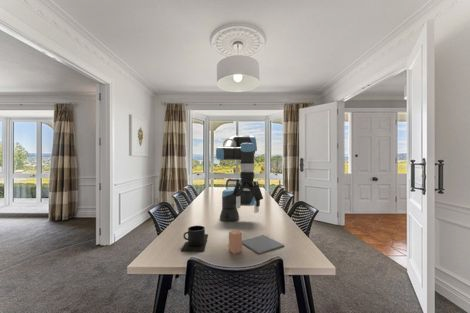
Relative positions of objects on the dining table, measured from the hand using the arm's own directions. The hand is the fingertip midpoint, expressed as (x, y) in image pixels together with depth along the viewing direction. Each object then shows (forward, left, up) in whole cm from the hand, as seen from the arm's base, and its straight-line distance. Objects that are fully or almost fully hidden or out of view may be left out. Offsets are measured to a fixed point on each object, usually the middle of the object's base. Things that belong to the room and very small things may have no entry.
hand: (247, 210), depth 123 cm
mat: (+1, +10, -21) cm, 23 cm away
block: (0, -7, -21) cm, 22 cm away
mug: (-20, -22, -21) cm, 37 cm away
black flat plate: (-23, -22, -21) cm, 38 cm away
